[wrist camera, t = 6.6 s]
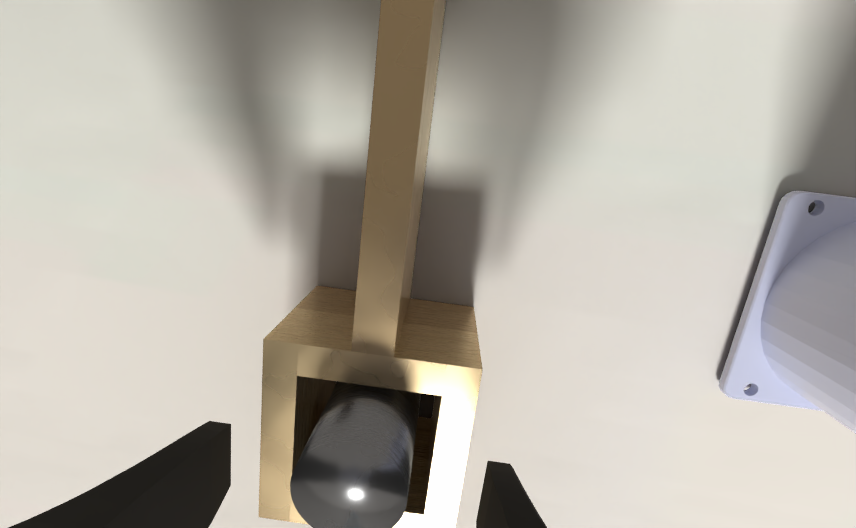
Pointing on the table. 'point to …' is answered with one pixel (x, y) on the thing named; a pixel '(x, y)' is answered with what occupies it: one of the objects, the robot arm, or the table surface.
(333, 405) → the pin
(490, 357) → the table surface
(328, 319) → the tan wooden bar
